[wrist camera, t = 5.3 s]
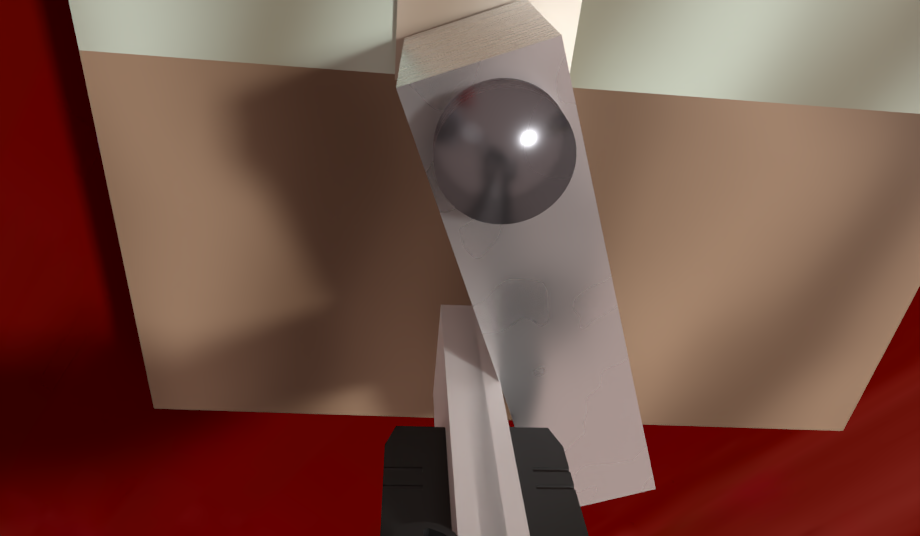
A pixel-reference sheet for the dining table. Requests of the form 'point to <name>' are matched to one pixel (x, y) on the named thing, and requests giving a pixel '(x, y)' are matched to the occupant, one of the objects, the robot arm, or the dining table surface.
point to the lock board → (422, 229)
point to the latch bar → (528, 234)
